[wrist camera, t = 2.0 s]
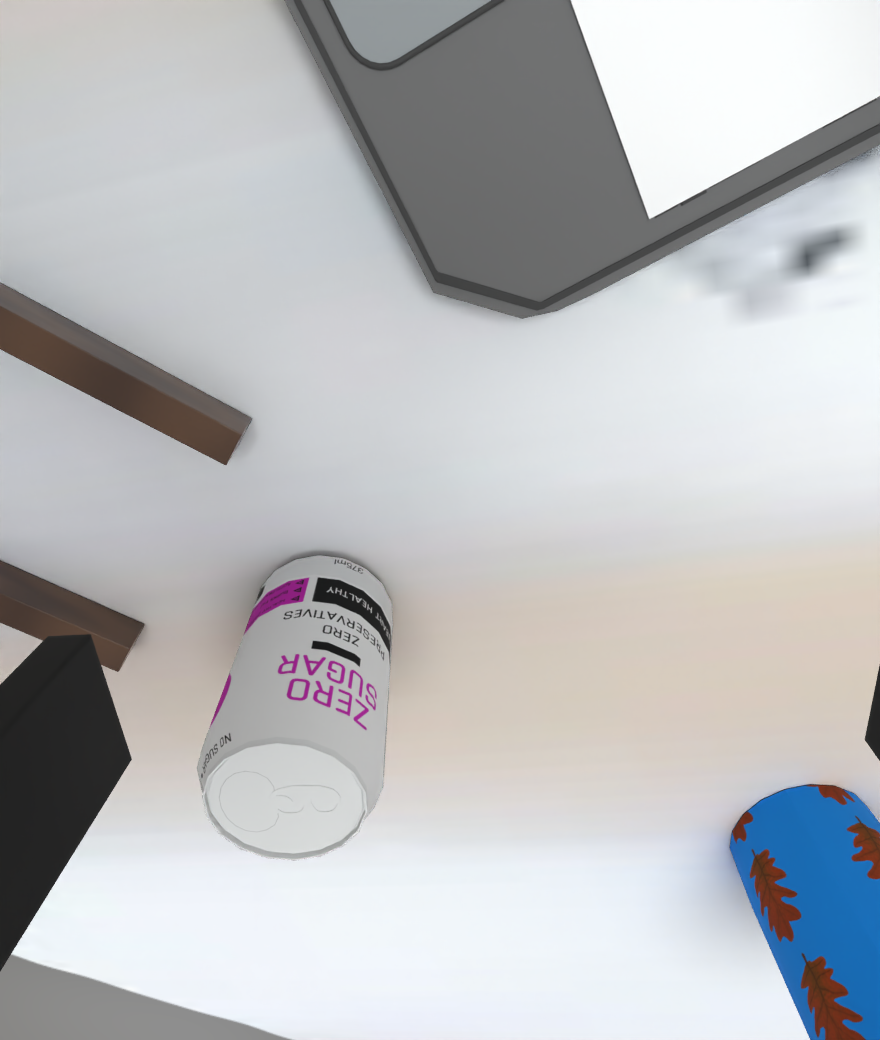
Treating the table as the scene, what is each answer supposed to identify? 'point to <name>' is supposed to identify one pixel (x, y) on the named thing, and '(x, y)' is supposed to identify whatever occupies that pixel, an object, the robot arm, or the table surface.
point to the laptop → (589, 125)
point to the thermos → (818, 903)
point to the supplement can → (302, 714)
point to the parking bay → (132, 391)
